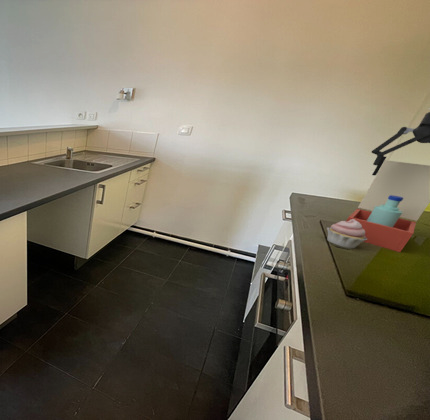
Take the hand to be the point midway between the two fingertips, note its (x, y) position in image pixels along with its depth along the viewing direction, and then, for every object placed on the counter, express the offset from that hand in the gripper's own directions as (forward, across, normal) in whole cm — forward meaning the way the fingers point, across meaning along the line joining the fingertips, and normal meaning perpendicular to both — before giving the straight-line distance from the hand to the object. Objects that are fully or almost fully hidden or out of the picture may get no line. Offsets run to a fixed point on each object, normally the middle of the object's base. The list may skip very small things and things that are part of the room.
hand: (405, 180), depth 82 cm
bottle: (+22, 0, 0) cm, 22 cm away
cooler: (+22, 0, 0) cm, 23 cm away
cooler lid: (+5, 0, +9) cm, 10 cm away
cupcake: (+23, -5, -19) cm, 30 cm away
